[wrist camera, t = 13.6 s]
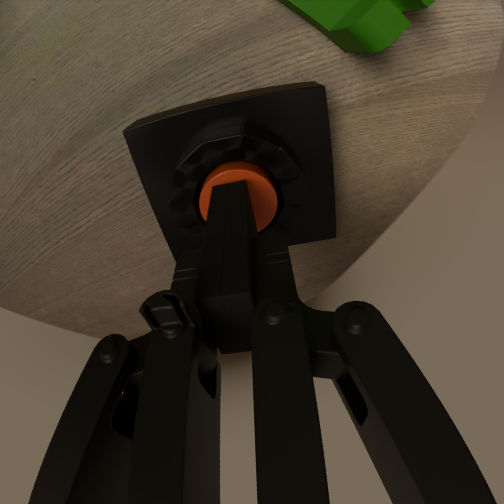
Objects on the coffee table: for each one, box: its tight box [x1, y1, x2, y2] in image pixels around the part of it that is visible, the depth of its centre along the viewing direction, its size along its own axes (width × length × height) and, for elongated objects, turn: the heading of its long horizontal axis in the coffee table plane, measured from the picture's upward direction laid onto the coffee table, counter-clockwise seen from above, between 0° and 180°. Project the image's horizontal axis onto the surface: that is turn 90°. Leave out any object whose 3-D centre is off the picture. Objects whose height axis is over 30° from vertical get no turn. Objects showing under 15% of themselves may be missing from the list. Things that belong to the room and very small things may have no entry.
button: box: [199, 160, 277, 232], centre depth 14 cm, size 4×4×2 cm
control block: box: [123, 81, 336, 263], centre depth 15 cm, size 10×9×4 cm
